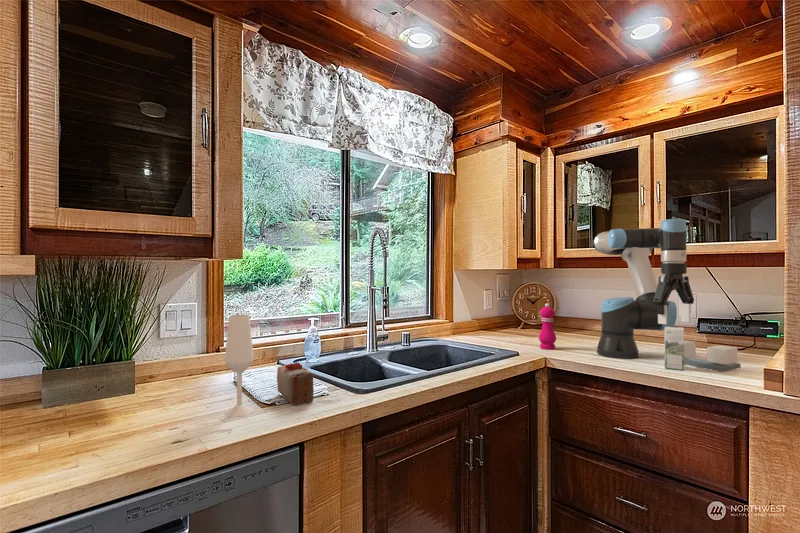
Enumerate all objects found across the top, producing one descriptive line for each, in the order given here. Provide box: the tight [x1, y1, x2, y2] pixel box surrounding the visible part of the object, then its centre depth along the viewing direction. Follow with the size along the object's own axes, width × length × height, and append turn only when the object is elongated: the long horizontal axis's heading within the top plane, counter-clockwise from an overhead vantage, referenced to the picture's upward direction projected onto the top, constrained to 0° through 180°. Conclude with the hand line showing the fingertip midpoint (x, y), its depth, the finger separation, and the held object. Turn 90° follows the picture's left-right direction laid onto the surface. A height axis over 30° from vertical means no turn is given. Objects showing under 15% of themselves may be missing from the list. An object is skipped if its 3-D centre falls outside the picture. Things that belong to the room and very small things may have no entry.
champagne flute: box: [224, 314, 255, 418], centre depth 102 cm, size 7×7×24 cm
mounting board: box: [684, 358, 741, 373], centre depth 151 cm, size 19×12×2 cm, turn 27°
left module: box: [684, 339, 697, 357], centre depth 157 cm, size 6×8×5 cm
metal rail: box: [684, 355, 736, 366], centre depth 151 cm, size 19×5×1 cm, turn 27°
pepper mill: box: [538, 302, 557, 351], centre depth 182 cm, size 7×7×20 cm
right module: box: [706, 344, 739, 364], centre depth 145 cm, size 6×8×5 cm
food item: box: [276, 361, 315, 406], centre depth 113 cm, size 14×8×10 cm, turn 34°
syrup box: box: [664, 326, 685, 371], centre depth 145 cm, size 6×6×14 cm
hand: (674, 322), depth 145 cm, fingers open, 13 cm apart
